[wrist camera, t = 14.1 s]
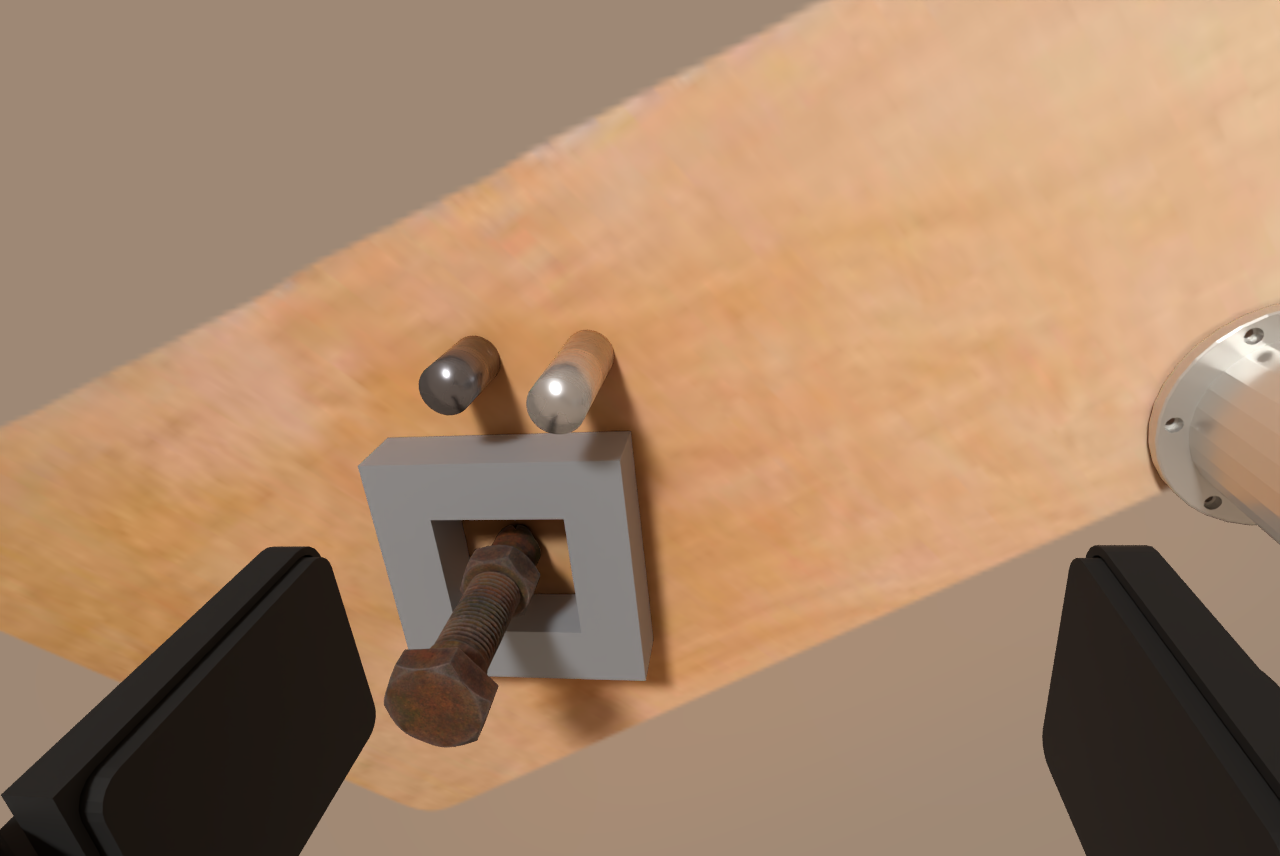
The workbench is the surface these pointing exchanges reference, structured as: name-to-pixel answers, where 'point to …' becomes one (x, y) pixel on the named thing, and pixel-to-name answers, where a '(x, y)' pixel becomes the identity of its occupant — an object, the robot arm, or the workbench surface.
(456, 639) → the bolt
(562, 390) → the pin mid
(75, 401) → the workbench surface
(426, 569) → the frame
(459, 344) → the pin short
